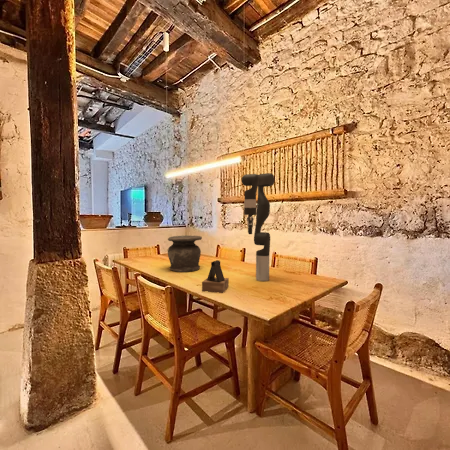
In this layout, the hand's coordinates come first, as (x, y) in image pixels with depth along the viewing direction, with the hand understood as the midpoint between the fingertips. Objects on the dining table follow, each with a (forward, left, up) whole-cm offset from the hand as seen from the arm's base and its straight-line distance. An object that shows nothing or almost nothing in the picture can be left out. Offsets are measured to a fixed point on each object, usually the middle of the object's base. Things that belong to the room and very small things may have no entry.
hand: (250, 233), depth 161 cm
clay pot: (-53, -51, -34) cm, 81 cm away
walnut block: (+2, -21, -35) cm, 40 cm away
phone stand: (+3, -21, -29) cm, 36 cm away
